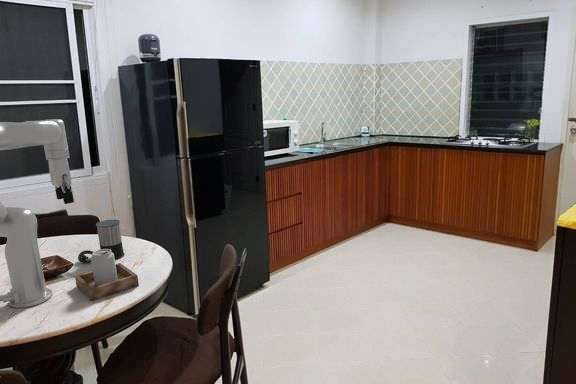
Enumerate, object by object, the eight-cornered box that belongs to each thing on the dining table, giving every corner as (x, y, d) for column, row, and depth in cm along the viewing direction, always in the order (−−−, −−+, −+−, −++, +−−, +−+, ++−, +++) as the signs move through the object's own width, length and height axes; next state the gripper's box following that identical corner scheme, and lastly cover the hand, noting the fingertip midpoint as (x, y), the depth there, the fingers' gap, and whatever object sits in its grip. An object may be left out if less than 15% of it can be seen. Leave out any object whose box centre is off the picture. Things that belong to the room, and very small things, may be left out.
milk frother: (129, 254, 185) (124, 220, 181) (97, 268, 171) (91, 232, 168) (106, 249, 192) (101, 217, 188) (74, 263, 178) (68, 228, 175)
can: (110, 288, 151) (105, 255, 148) (90, 288, 152) (85, 255, 149) (122, 279, 158) (117, 247, 155) (103, 278, 159) (98, 247, 156)
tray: (91, 301, 144) (89, 290, 143) (76, 286, 156) (74, 276, 155) (138, 285, 154) (137, 275, 154) (121, 272, 166) (119, 262, 165)
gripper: (40, 153, 161) (48, 199, 166) (52, 158, 149) (60, 207, 153) (62, 151, 166) (69, 195, 170) (75, 155, 153) (83, 202, 157)
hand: (65, 200), depth 161 cm, fingers open, 9 cm apart
